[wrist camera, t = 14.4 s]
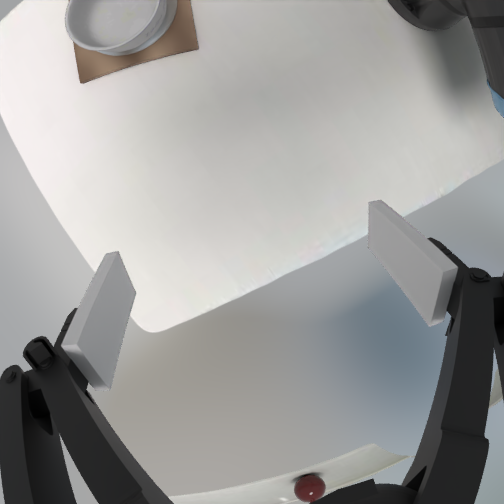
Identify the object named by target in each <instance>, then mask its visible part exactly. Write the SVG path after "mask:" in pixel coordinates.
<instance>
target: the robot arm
mask: <svg viewBox="0 0 504 504" xmlns="http://www.w3.org/2000/svg"><path fill="white" fill-rule="evenodd" d="M388 1H389V2H390V4H391V5H392V6H393V8H394V9H395V10H396V11H397V12H398V13H399V14H400V15H401V16H402V17H403V18H404V19H406V20H407V21H408V22H410V23H411V24H413V25H415V26H417V27H419V28H422V29H425V30H431V31H435V30H443V29H447V28H450V27H452V26H453V25H454V24H456V23H457V22H459V21H460V20H462V19H463V18H465V17H466V16H468V18H469V20H470V23H471V26H472V29H473V32H474V35H475V38H476V41H477V44H478V47H479V50H480V53H481V57H482V60H483V64H484V67H485V71H486V75H487V84H488V86H489V88H490V90H491V94H492V98H493V102H494V105H495V108H496V109H497V111H498V112H499V113H500V114H501V116H502V117H503V118H504V0H388ZM368 248H369V250H370V251H371V252H372V253H373V254H374V256H375V257H376V258H377V259H378V260H379V262H380V263H381V264H382V265H383V267H384V268H385V269H386V270H387V272H388V273H389V274H390V275H391V277H392V278H393V279H394V281H395V282H396V283H397V284H398V286H399V287H400V288H401V289H402V291H403V292H404V293H405V295H406V296H407V297H408V299H409V300H410V301H411V303H412V304H413V305H414V307H415V308H416V309H417V311H418V312H419V313H420V315H421V316H422V318H423V319H424V320H425V322H426V323H427V324H428V326H429V327H430V326H433V325H436V324H438V323H441V322H443V321H444V318H445V314H446V311H448V313H449V314H450V315H451V320H450V323H449V326H448V328H447V332H446V335H445V336H447V341H446V347H445V352H444V358H443V363H442V367H441V372H440V376H439V380H438V385H437V389H436V393H435V396H434V401H433V404H432V408H431V411H430V414H429V418H428V421H427V425H426V428H425V431H424V434H423V437H422V440H421V443H420V445H419V448H418V451H417V454H416V456H415V459H414V461H413V464H412V466H411V468H410V469H409V471H408V473H407V475H406V477H405V479H404V481H403V483H402V485H396V484H375V482H374V479H370V480H367V481H364V482H361V483H358V484H355V485H351V486H348V487H344V488H341V489H338V490H336V491H334V492H332V493H330V494H328V495H326V496H324V497H322V498H320V499H318V500H316V501H314V502H312V503H310V504H474V502H475V499H476V496H477V493H478V489H479V486H480V482H481V479H482V475H483V471H484V467H485V463H486V459H487V455H488V449H489V440H488V439H486V438H485V436H484V433H485V426H486V421H487V414H488V408H489V401H490V392H491V382H492V371H493V353H494V350H495V354H496V359H497V364H498V369H499V375H500V381H501V387H502V393H503V400H504V273H503V276H502V277H491V276H490V275H489V274H488V273H487V272H486V271H484V270H482V269H479V268H468V267H467V266H466V265H465V264H464V263H463V262H462V261H461V260H460V259H459V258H458V257H457V256H455V255H454V254H452V252H451V251H450V250H449V249H447V248H446V247H445V246H444V245H443V244H442V243H441V242H439V241H437V240H435V239H433V238H426V237H425V236H424V235H423V234H421V233H420V232H419V231H418V230H417V229H416V228H415V227H413V226H412V225H411V224H410V223H409V222H408V221H406V220H405V219H404V218H403V217H402V216H400V215H399V214H398V213H397V212H396V211H394V210H393V209H392V208H391V207H389V206H388V205H387V204H386V203H384V202H383V201H382V200H378V201H372V202H369V224H368ZM135 296H136V291H135V289H134V287H133V285H132V282H131V280H130V278H129V275H128V273H127V271H126V268H125V266H124V264H123V261H122V259H121V256H120V254H119V251H116V252H112V253H107V254H106V255H105V256H104V258H103V260H102V262H101V264H100V266H99V267H98V269H97V271H96V273H95V275H94V277H93V279H92V281H91V283H90V285H89V287H88V289H87V291H86V293H85V295H84V297H83V299H82V301H81V303H80V305H79V307H78V308H75V309H74V310H73V311H72V312H71V313H70V314H69V315H68V317H67V319H66V321H65V323H64V326H63V327H62V329H61V332H60V334H59V336H58V338H57V340H56V342H55V345H54V347H53V346H52V344H51V343H50V342H49V340H48V339H47V338H46V337H43V336H40V337H37V338H35V339H33V340H32V341H30V342H29V343H28V344H27V346H26V347H25V349H24V351H23V357H24V358H25V359H26V361H27V362H28V363H29V365H30V366H31V367H32V368H33V369H32V370H29V371H26V372H23V370H22V369H21V368H20V367H19V366H18V365H12V366H10V367H9V368H7V369H6V370H5V371H4V372H3V374H2V376H1V378H0V469H1V478H2V487H3V494H4V500H5V504H77V503H76V500H75V497H74V493H73V490H72V487H71V483H70V479H69V476H68V472H67V468H66V464H65V459H64V455H63V450H62V446H61V441H60V436H61V437H62V440H63V442H64V444H65V446H66V448H67V450H68V452H69V454H70V456H71V458H72V459H73V461H74V463H75V465H76V467H77V469H78V470H79V472H80V474H81V476H82V477H83V479H84V481H85V482H86V484H87V485H88V487H89V489H90V491H91V492H92V494H93V495H94V497H95V499H96V500H97V502H98V503H99V504H174V503H173V502H172V501H171V500H170V499H169V498H168V497H167V496H166V495H165V494H164V493H163V492H162V490H161V489H160V488H159V487H158V486H157V485H156V484H155V483H154V482H153V480H152V479H151V478H150V477H149V475H148V474H147V473H146V472H145V471H144V470H143V468H142V467H141V466H140V465H139V463H138V462H137V461H136V459H135V458H134V457H133V456H132V454H131V453H130V452H129V451H128V449H127V448H126V446H125V445H124V444H123V442H122V441H121V440H120V438H119V437H118V436H117V434H116V433H115V431H114V430H113V428H112V427H111V425H110V424H109V423H108V421H107V420H106V418H105V417H104V415H103V414H102V412H101V410H100V409H99V407H98V406H97V404H96V403H95V401H94V399H93V398H92V397H91V395H90V393H89V392H88V391H87V390H86V389H87V385H88V382H89V383H90V385H91V386H92V387H93V388H94V390H95V391H104V390H111V386H112V382H113V377H114V373H115V369H116V365H117V361H118V357H119V353H120V349H121V345H122V341H123V337H124V334H125V329H126V326H127V323H128V319H129V316H130V312H131V309H132V306H133V302H134V299H135ZM59 433H60V436H59Z"/></svg>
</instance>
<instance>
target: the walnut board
mask: <svg viewBox="0 0 504 504" xmlns="http://www.w3.org/2000/svg"><path fill="white" fill-rule="evenodd" d="M69 1H70V0H69ZM166 3H167V7H166V14H165V17H164V20H163V22H162V24H161V26H160V28H159V29H158V30H157V32H156V33H155V34H154V35H153V36H152V37H151V38H150V39H149V40H147V41H146V42H145V43H143V44H141V45H140V46H138V47H136V48H133V49H130V50H127V51H122V52H106V51H93V50H87V49H84V48H82V47H80V46H78V45H77V44H75V42H74V41H73V43H74V50H75V56H76V62H77V68H78V74H79V79H80V83H86V82H88V81H91V80H93V79H96V78H99V77H101V76H104V75H107V74H110V73H113V72H116V71H119V70H122V69H125V68H128V67H131V66H134V65H137V64H141V63H144V62H148V61H151V60H155V59H159V58H162V57H166V56H170V55H175V54H179V53H183V52H188V51H192V50H197V49H198V43H197V38H196V32H195V27H194V21H193V15H192V10H191V4H190V0H166Z"/></svg>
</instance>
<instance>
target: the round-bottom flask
mask: <svg viewBox="0 0 504 504" xmlns="http://www.w3.org/2000/svg"><path fill="white" fill-rule="evenodd" d="M325 489H326V486H325V483H324V481H323V480H322V479H321V478H320V477H318V476H315V475H307V476H304V477H302V478H300V479H299V480H298V481H297V482H296V484H295V487H294V493H295V495H296V497H297V498H298V499H299V500H301V501H303V502H310V503H312V502H314V501H316V500H318V499H320V498H321V497H322V496H323V495H324V493H325Z"/></svg>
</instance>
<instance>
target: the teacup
mask: <svg viewBox="0 0 504 504" xmlns="http://www.w3.org/2000/svg"><path fill="white" fill-rule="evenodd" d="M166 7H167V3H166V0H70V1H69V3H68V6H67V9H66V14H65V26H66V30H67V33H68V35H69V37H70V38H71V39H72V41H74V42H75V44H77V45H78V46H80V47H82V48H84V49H87V50H93V51H106V52H122V51H127V50H130V49H133V48H136V47H138V46H140V45H141V44H143V43H145V42H146V41H147V40H149V39H150V38H151V37H152V36H153V35H154V34H155V33H156V32H157V30H158V29H159V28H160V26H161V24H162V22H163V20H164V17H165V14H166Z"/></svg>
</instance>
